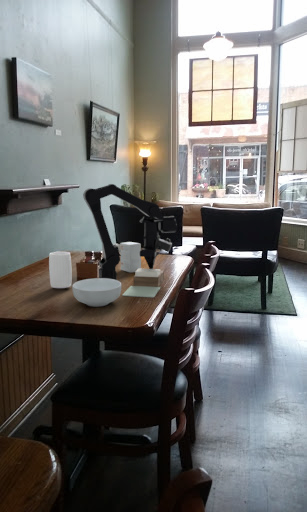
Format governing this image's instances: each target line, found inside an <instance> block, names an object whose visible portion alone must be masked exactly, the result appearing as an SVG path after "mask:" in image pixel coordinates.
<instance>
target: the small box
mask: <svg viewBox="0 0 307 512" xmlns="http://www.w3.org/2000/svg"><path fill="white" fill-rule="evenodd" d="M119 245H120V246H119V247H120V250H119V253H120V255H121V256H120V270H121V271H124V272H127V273H135V271H136V270H137V269H139V268H141V269H142V257H140V251H141V250H142V249H141V248H142V247H141V246H142V244H141V243H139V242H132V241H126V242H120V243H119Z"/></svg>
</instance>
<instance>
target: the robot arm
mask: <svg viewBox="0 0 307 512" xmlns="http://www.w3.org/2000/svg"><path fill="white" fill-rule="evenodd" d="M82 195H83V196H82V198H83V200H84V202H85V204H86V206H87V207H88V209H89V210H90V212H91V215H92V217H93V221H94V223H95V224H94V225H95V226H96V229H97V233H98V235H99V239H100V242H101V246H102V256H103V257H102V258H101V259H100V260H99V261H98V265H99V267H100V268H98V278H108V279H114V280H118V272H117V271H116V269H117V268H116V267H117V265H119V264H120V263H121V254H120V250H119V246H118V245H116V244H113V242H112V239H111V237H110V233H109V231H108V227H107V224H106V221H105V217H104V215H103V212H102V202H101V201H102V199H103V198H106V197H109V196H111V195H112V196H114V197H115V198H118V199H120V200H121V201H124V202H126V203H127V204H129V205H131V206H133V207H135V208H136V209H137V210H139V212H141V213H142V214H143V215H145V216H147V217H150V218H146V217H145V216H143V217H142V218H141V219H140V220H139V223H141V224H144V235H143V240H144V245H143V248H142V249H141V251H140V257H141V258H144V260H145V262H146V264H147V266H148V269H154V266H155V263H156V259H157V258H156V257H158V256H159V254H160V252H157V250H159V251H162V250H164V251H165V252H170V251H171V248H172V247H173V242H172V241H171V239H170V238H168V237H167V238H165V239H161V235H159V231H160V232H161V233H162V234H164V233H165V234H167V233H168V234H169V233H170V234H171V233H176V232H177V228H178V224H177V221H176V216H174V215H170V216H164V215H163V214H162V212H161V209H160V206H159V205H158V204H157V203H154V202H151V201H148V200H145V199H142V198H139V197H138V196H136V195H133V194H131V193H130V192H128V191H126V190H124V189H122V188H120V187H118V186H117V185H116V184H113V183H108V184H107V185H104V186H100V187H98V188H86V189H85V190H84V192H83V193H82ZM155 219H156V220H155Z"/></svg>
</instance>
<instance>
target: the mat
mask: <svg viewBox="0 0 307 512" xmlns="http://www.w3.org/2000/svg"><path fill="white" fill-rule="evenodd" d="M161 288H162V287H161V286H159V287H147V286H134V285H130V286H129V287H128V288H127V289H126V290H125V291H124V293H122V295H121V296H122V297H134V298H135V297H138V298H140V297H141V298H155V296H156V295H157V294H158V292H159V291H160V289H161Z"/></svg>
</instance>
